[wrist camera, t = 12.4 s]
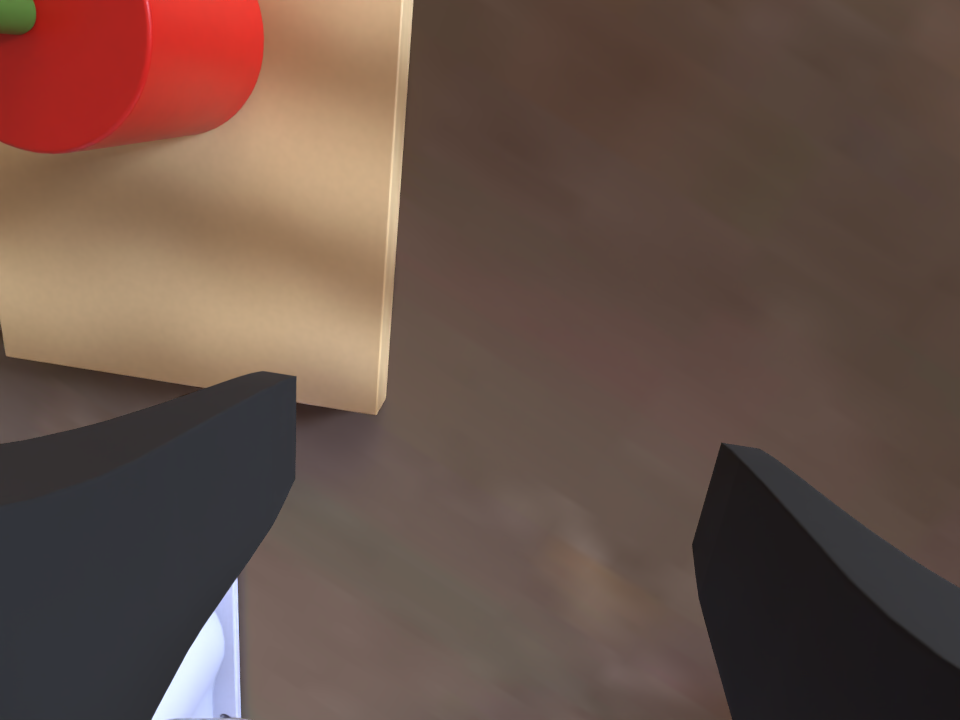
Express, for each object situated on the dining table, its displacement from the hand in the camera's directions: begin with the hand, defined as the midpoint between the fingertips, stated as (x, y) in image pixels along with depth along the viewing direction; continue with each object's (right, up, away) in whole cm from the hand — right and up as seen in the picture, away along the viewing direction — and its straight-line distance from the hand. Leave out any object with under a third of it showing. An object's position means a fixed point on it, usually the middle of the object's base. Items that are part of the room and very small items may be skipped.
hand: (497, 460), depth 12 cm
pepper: (-8, +10, +6) cm, 14 cm away
